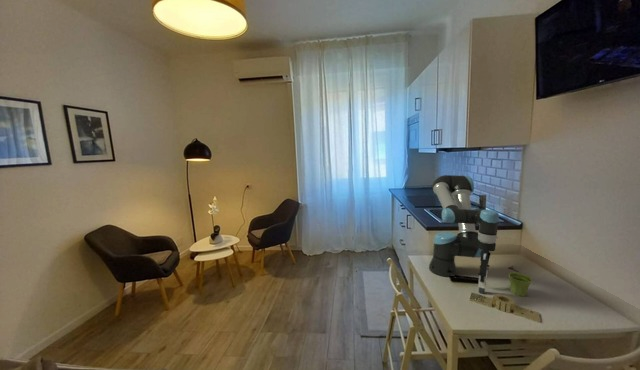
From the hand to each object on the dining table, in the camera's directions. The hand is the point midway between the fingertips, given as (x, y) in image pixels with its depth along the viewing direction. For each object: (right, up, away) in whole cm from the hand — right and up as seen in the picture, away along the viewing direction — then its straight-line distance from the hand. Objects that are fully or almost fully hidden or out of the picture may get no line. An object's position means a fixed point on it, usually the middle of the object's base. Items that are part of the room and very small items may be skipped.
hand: (482, 282), depth 128 cm
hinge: (+2, -7, -11) cm, 13 cm away
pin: (0, -5, +1) cm, 5 cm away
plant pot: (+19, -6, +1) cm, 19 cm away
